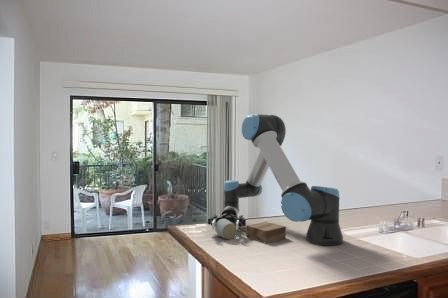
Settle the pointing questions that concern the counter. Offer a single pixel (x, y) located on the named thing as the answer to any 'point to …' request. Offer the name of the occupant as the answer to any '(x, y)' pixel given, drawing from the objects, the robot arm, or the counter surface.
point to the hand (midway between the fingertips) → (224, 226)
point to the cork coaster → (243, 228)
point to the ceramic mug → (226, 229)
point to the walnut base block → (266, 232)
